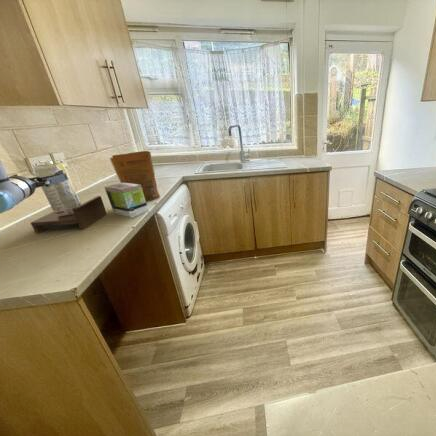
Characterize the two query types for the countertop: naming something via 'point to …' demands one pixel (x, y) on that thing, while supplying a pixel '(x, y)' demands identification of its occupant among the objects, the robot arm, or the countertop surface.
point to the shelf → (74, 216)
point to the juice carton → (58, 190)
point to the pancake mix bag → (137, 171)
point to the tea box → (127, 199)
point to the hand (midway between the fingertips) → (40, 175)
